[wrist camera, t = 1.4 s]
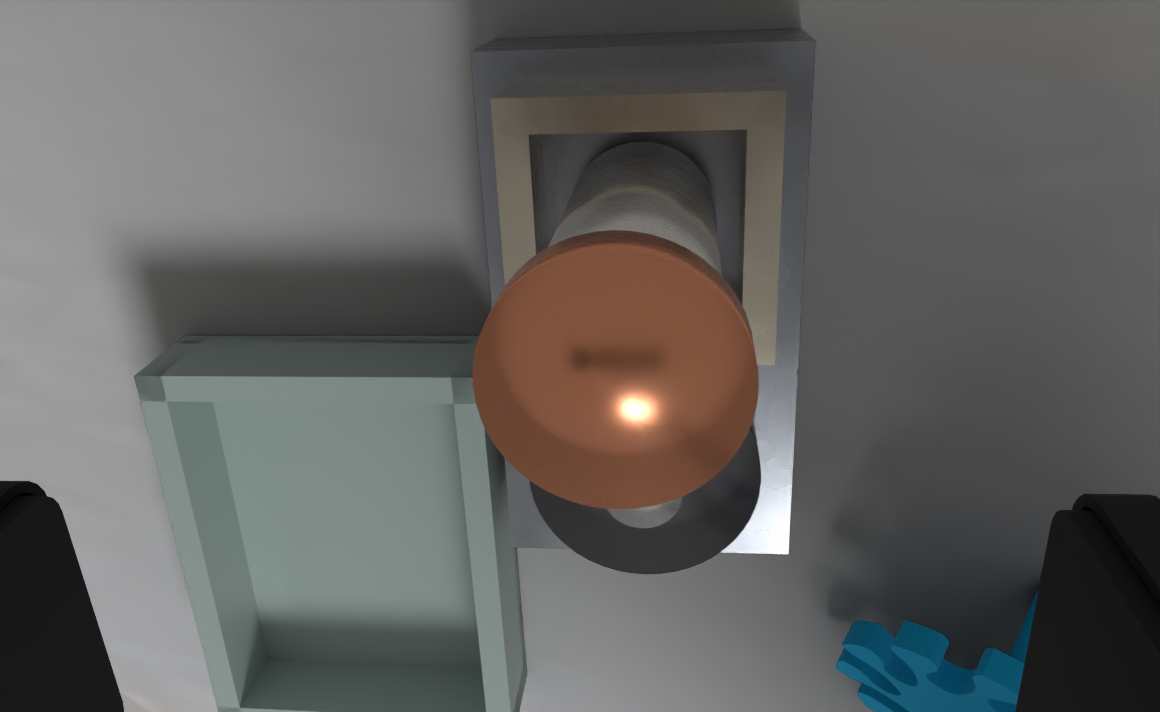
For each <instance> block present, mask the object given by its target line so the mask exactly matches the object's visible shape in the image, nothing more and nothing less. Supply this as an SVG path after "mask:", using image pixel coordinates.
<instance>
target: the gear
mask: <svg viewBox="0 0 1160 712" xmlns="http://www.w3.org/2000/svg"><path fill="white" fill-rule="evenodd" d="M1038 590H1039V589H1038ZM1037 595H1038V591H1037V593H1036V595H1035V598H1034V600H1033V602H1032V605H1031V607H1030V609H1029V612H1028V614H1027V616H1026V619H1025V621H1024V623H1023V626H1022V628H1021V630H1020V633H1019V635H1018V637H1017V639H1016V642H1015V644H1014V646H1013V649H1012V651H1011V653H1010V656H1009V655H1007V654H1005V653H1003V652H1001V651H999V650H997V649H995V648H987V649H985V651H984V653H983V655H982V657H981V660H980V662H979V664H978V666H977V669H964V668H961V667H958V666H956V665H954V664H952V663H950V662H949V661H947V660H946V659H944V658H943V657H944V655H945V653H946V650H947V648H948V646H949V641H948V639H947V638H946V637H945V636H944V635H943V634H941V633H939V632H937V631H935V630H933V629H930V628H928V627H925V626H922V625H919V624H917V623H913V622H910V621H907V620H904V621H903V623H902V625H901V627H900V629H899V632H898V634H897V636H896V638H895V639H894V637H893V635H892V634H891V633H890V632H889V631H888V630H886V629H885V628H884V627H882V626H881V625H879V624H877V623H873V622H868V621H854V622H853V624H852V626H851V628H850V630H849V632H848V634H847V636H846V638H845V640H844V642H843V643H842V645H843V646H844V650H843V652H842V654H841V656H840V658H839V660H838V662H837V664H836V668H837V669H838V670H839V671H840V672H842V673H843V674H845V675H847V676H848V677H850V678H852V679H854V680H857V681H859V682H861V683H862V684H861V686H860V688H859V690H858V695H859V697H860V699H861V700H862V701H863V703H864V704H865V705H866V706H867V707H869V708H871V709H872V710H874V711H876V712H1015V710H1016V705H1017V700H1018V695H1019V689H1020V684H1021V679H1022V674H1023V668H1024V663H1025V658H1026V653H1027V648H1028V642H1029V637H1030V632H1031V627H1032V621H1033V616H1034V611H1035V606H1036V600H1037Z"/></svg>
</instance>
